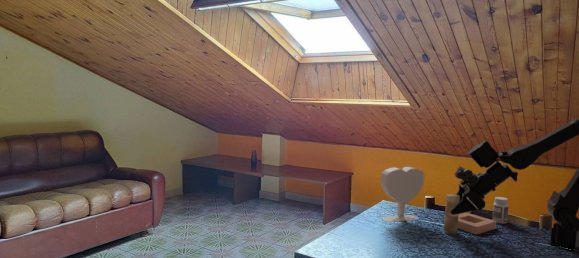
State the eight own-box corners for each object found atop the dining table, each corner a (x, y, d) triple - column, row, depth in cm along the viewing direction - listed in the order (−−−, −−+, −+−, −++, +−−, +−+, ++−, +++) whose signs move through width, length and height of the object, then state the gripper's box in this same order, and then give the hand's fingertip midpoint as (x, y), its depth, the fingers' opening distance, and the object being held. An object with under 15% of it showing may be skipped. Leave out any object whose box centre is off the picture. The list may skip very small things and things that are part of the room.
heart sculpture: (415, 214, 152) (417, 165, 150) (423, 218, 147) (426, 168, 145) (377, 217, 147) (379, 167, 145) (385, 222, 142) (387, 170, 140)
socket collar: (495, 228, 138) (496, 221, 138) (476, 234, 132) (477, 226, 132) (465, 219, 148) (466, 212, 147) (446, 224, 141) (446, 217, 141)
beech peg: (459, 233, 133) (462, 196, 132) (452, 235, 131) (454, 198, 130) (449, 229, 137) (451, 193, 135) (441, 231, 134) (443, 195, 133)
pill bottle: (503, 219, 148) (505, 196, 147) (509, 224, 144) (511, 200, 143) (490, 219, 149) (491, 196, 148) (495, 223, 144) (497, 199, 143)
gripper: (469, 154, 139) (431, 183, 143) (476, 164, 121) (433, 197, 125) (493, 180, 137) (454, 208, 142) (504, 193, 120) (459, 226, 124)
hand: (450, 209), depth 133 cm, fingers open, 9 cm apart
